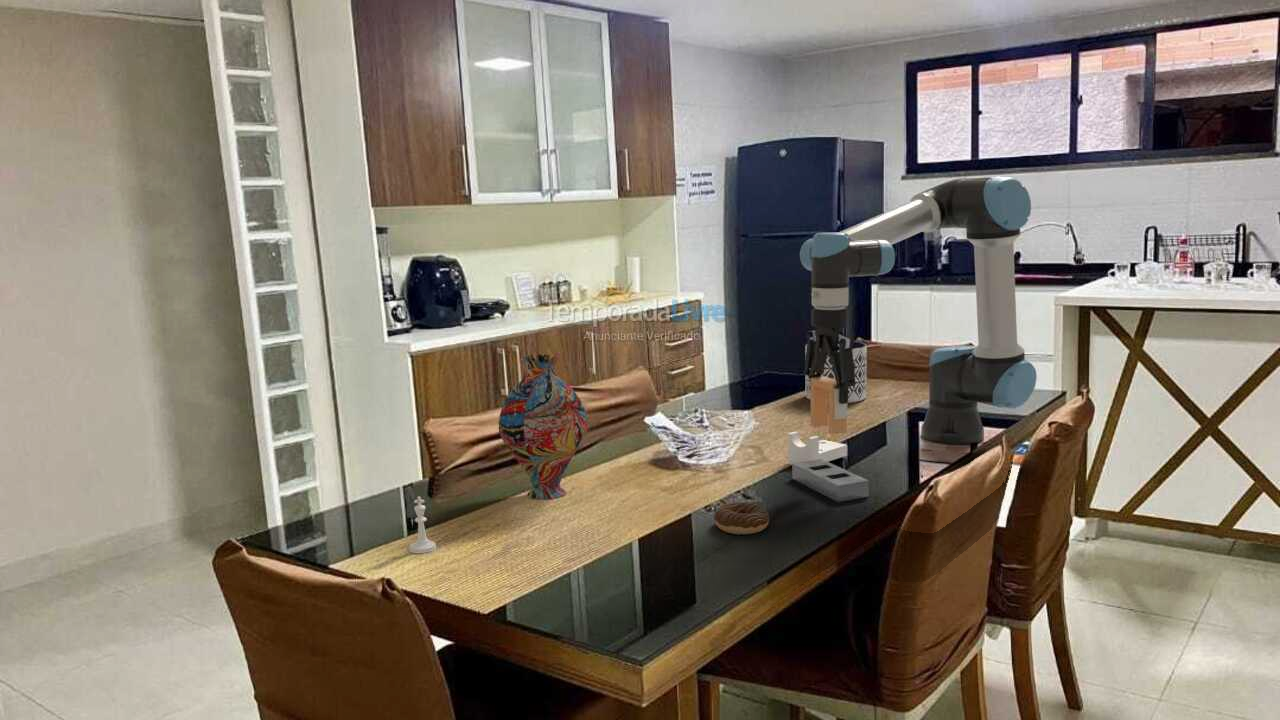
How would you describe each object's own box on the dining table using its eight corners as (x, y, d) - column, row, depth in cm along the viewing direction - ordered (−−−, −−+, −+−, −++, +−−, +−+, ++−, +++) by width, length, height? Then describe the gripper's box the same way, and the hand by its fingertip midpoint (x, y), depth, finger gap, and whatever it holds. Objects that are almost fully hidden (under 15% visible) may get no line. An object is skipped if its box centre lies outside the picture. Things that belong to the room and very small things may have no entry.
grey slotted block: (821, 474, 215) (821, 459, 214) (868, 496, 198) (868, 480, 198) (792, 478, 212) (792, 463, 212) (837, 502, 196) (837, 485, 195)
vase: (603, 484, 213) (597, 351, 208) (569, 511, 195) (562, 367, 190) (526, 478, 219) (519, 349, 214) (487, 504, 201) (478, 364, 196)
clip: (824, 424, 207) (824, 376, 206) (846, 432, 200) (847, 383, 198) (810, 425, 206) (810, 377, 204) (832, 434, 198) (832, 384, 197)
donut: (712, 518, 189) (711, 499, 188) (765, 517, 189) (765, 497, 188) (716, 538, 178) (715, 518, 177) (772, 536, 178) (772, 516, 177)
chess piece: (411, 544, 180) (407, 493, 178) (437, 543, 180) (434, 492, 178) (407, 554, 175) (403, 501, 173) (434, 552, 175) (430, 500, 173)
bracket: (811, 470, 219) (811, 438, 217) (787, 464, 224) (787, 433, 223) (846, 459, 227) (847, 428, 226) (823, 453, 232) (823, 423, 231)
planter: (872, 403, 282) (873, 348, 279) (810, 405, 282) (810, 350, 279) (859, 390, 300) (859, 339, 297) (801, 392, 300) (801, 340, 297)
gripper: (787, 303, 207) (787, 406, 211) (843, 314, 187) (841, 426, 191) (817, 301, 210) (816, 402, 213) (875, 311, 190) (873, 422, 194)
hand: (828, 413), depth 202 cm, fingers closed on clip, 8 cm apart
